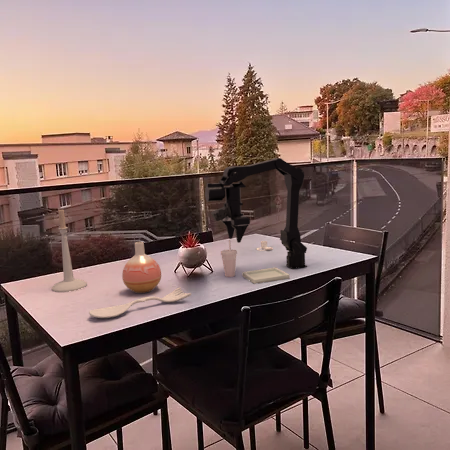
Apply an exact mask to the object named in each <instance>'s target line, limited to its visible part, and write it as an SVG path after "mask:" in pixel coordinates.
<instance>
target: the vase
mask: <svg viewBox="0 0 450 450" xmlns="http://www.w3.org/2000/svg"><path fill="white" fill-rule="evenodd" d="M134 250H135V251H134V255H133V256H132V257H131V258H129V259H128V260H127V262H126V263H125V265H124V266H123V269H122V275H121V277H122V282H123V284H124V285H125V287H126V288H128V289H129V290H130V291H132V292H133V293H135V294H146V292H147V293H150V292H152V291H154V289H155V288H156V287H157V286H158V285H159V284H160V282H161V279H162V271H161V267H160V265H159V264H158V262H157V260H155V259H154V258H153V257H152V256H149V255H148V254H146V253H145V244H144V242H143V241H135V242H134Z"/></svg>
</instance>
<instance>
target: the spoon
mask: <svg viewBox="0 0 450 450" xmlns="http://www.w3.org/2000/svg"><path fill="white" fill-rule="evenodd" d="M191 296H192V292H189V293H187V292H186V293H185V292H184V290H183V289H182V287H177V288H175V289H174V290H173V291H171V292H170V293H168V294H166V295H164V296H163V297H158V296H148V297H141V298H138V299H135V300H133V301H130V302H127V303H124V304H118V305H113V306H109V307H101V308H95V309H91V310H89V312H88V314H89V316H90V317H92V318H99V319H110V318H115V317H118V316H121V315H122V314H123V313H125V312H126V311H128V310H129V309H130V308H131V307H132V306H134V305H136V304H138V303H145V302H149V301H159V302H163V303H174V302H177V301H181V300H184V299H187V298H189V297H191Z"/></svg>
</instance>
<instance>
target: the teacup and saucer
mask: <svg viewBox="0 0 450 450" xmlns="http://www.w3.org/2000/svg"><path fill="white" fill-rule="evenodd" d="M273 249H274V248H273V247H271V246H268V240H261V241H260V247H257V248H256V251H259V252H265V251H271V250H273Z"/></svg>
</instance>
